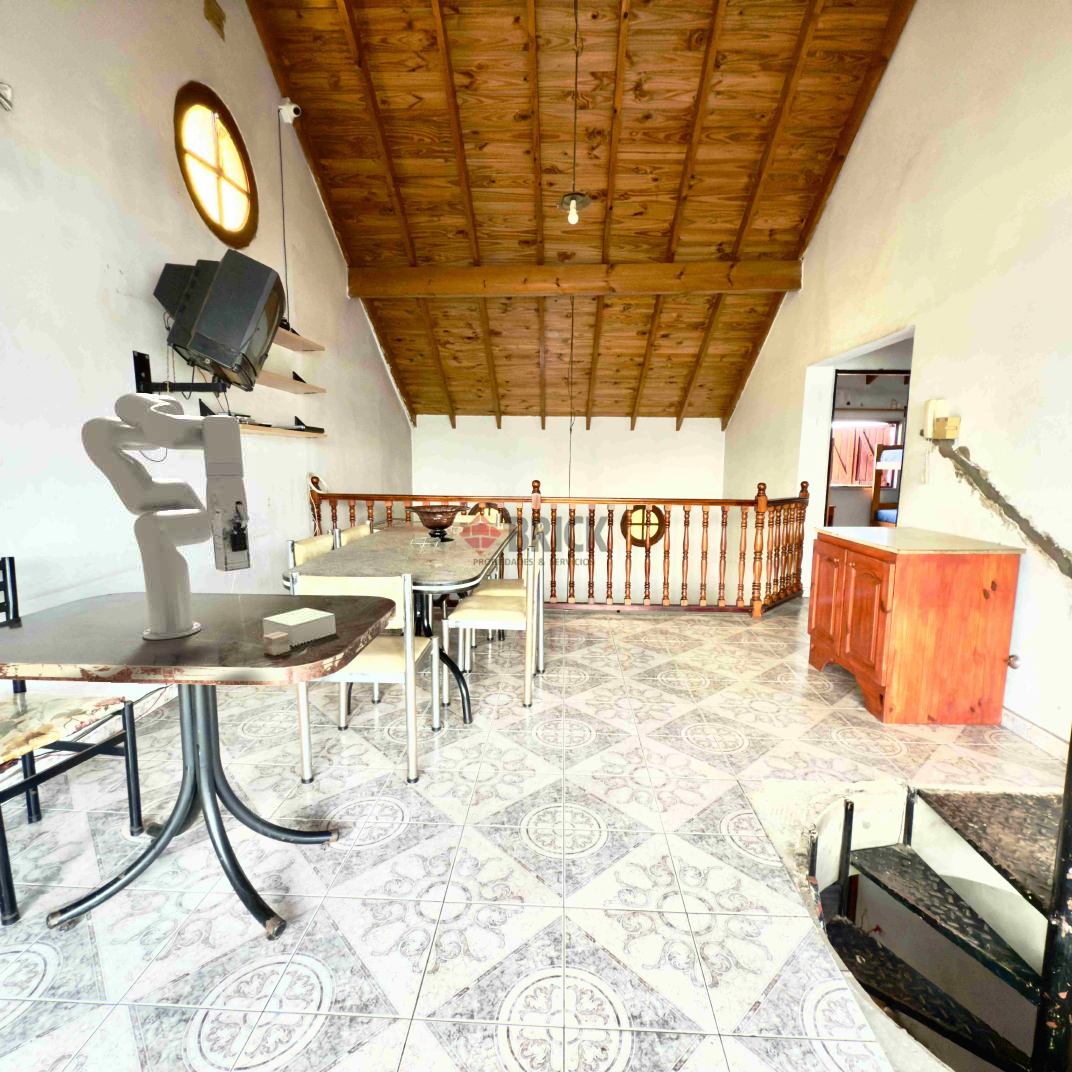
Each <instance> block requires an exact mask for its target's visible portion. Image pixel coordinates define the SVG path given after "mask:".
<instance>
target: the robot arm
mask: <svg viewBox="0 0 1072 1072" xmlns="http://www.w3.org/2000/svg"><path fill="white" fill-rule="evenodd" d="M184 410H185V409H184V408H183V405H182V404H181V402H180V401H178V400H177V399H176V398H174V397H172V396H169V395H159V394H153V393H152V394H150V393H141V392H140V393H139V392H135V393H134V392H131V393H126V394H123V395H121V396H120V397H119V398H118V399H116V400H115V403H114V412H115V415H116V417H115V416H101V417H94V418H91V419H88V420H87V421H86V422H85V423H83V425H82V428H81V433H80V434H81V436H80V437H81V441H82V446H83V448H84V451H85V453H86V455H87V456H88V457H89V459H90V461H91V462H92V463H93V464H94V466H95V467H97V469H98V470H100V472H101V473H102V474H104V476H105V477H106V478H107V480H108V482H109V483H110V484H111V486H112V488H113V490H114V491H115V493H116V495H117V496H118V497H119V500H121V503H122V504H123V505H124V507H125V509H126V510H127V511H128V512H129V513H131V515H134V516H138V517H137V518H136V519H135V520H134V521H135V522H134V525H133V532H134V536H135V540H136V542H137V546H138V549H139V553H140V556H141V557H140V558H141V562H142V570H143V576H144V577H143V578H144V586H145V595H146V604H147V613H148V622H149V628H147V629H145V630H144V631H143V632H142V635H143V638H144V639H147V640H153V641H155V640H157V641H159V640H170V639H177V638H180V637H186V636H189V635H192V634H195V633H196V632H199V631H200V630H201V629H202V625H201V623H200V622H197V621H194V613H193V605H192V604H193V603H192V595H191V593H192V592H191V583H190V582H191V581H190V574H189V573H190V571H189V565H188V562H187V560H186V558H185V557H184V556H183V555H182V554H181V553H180V551H178V549H177V548H179V547H184V546H191V545H199V544H202V543H205V542H208V541H209V540H210V539H212V538H213V533H212V522H211V521H213V520H215V512H216V510H215V509H216V508H219V509H221V514H222V521H223V522H229V524H230V528H231V531H232V534H230V537H231V548H232V552H238V551H245V550H247V544H246V527H248V523H249V521H250V517H249V515H248V512H249V511H248V502H247V494H246V489H245V484H244V479H243V478H245V475H244V466H243V465H244V463H243V453H242V452H243V451H242V442H241V440H242V439H241V431H240V430H241V429H240V428H241V427H240V422H239V420H238V418H237V417H234V416H230V415H207V416H191V415H185V411H184ZM160 448H164V449H168V450H175V451H176V450H181V451H182V450H186V451H188V450H191V451H192V450H195V451H196V450H197V451H203V459H204V468H205V469H204V470H205V478H206V484H205V486H206V487H205V500H206V501H205V504H206V506H205V505H204V504H203V502H202V501H201V499H200V498H199V496H198V495H197V493H196V492H195V490H194V488H192V486H191V485H190V484H189V483H188V482H187V481H185V480H183V479H180V478H175V477H172V478H171V477H168V478H157V477H153V476H152V475H151V474H150V473H149V471H148V470H147V469H146V467H145V465H143V464H142V463H141V461H139V460H138V459H136V458H135V457H133V456H132V455H130V454H128V453H126V452H124V451H155V450H158V449H160ZM236 517H239V518H240V519H238V520H233V518H236ZM236 523H237V525H236V527H235V524H236Z"/></svg>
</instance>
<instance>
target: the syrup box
mask: <svg viewBox="0 0 1072 1072" xmlns="http://www.w3.org/2000/svg"><path fill="white" fill-rule="evenodd" d="M215 510H216V512H215V520H213V521H211V522H212V533H213V535H212V542H213V552H214V553H213V554H214V555H213V556H214V567H215V570H219V571H221V572H231V571H239V570H245V569H251V557H250V542H249V530H248V529H249V528H248V526H247V527H246V544H247V550H245V551H238V552H232V548H231V537H230V534H232V531H231V528H230V524H229V522H223V521H222V514H221V509H219V508H216V509H215ZM238 519H240V518H239V517H236V518H233V520H238ZM236 525H237V523H236V524H235V527H236Z"/></svg>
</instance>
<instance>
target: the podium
mask: <svg viewBox="0 0 1072 1072" xmlns="http://www.w3.org/2000/svg"><path fill="white" fill-rule="evenodd" d="M335 615H336V614H335V613H331V612H326V611H322V610H320V609H319V610H318V609H313V608H309V607H303V608H299V609H296V610H295V609H294V610H290V611H287V612H284V613H279V614H276V615H271V616H268V617H263V618H262V624H263V625H262V626H263V627H262V628H263V636H264V635H268V634H271V633H275V632H283V633H287V634H289V640H290V645H291V646H290V647H296V646H299V645H301V643H302V644H305V643H307V642H308V641H309V642H312V641H315V640H317V639H321V638H324V637H328V636H330V635H334V634H336V633H337V632H336V631H337V630H336V629H337V627H336V616H335ZM314 639H315V640H314ZM311 640H312V641H311ZM304 642H305V643H304ZM309 642H308V643H309ZM298 644H299V645H298ZM295 645H296V646H295Z"/></svg>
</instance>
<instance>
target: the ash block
mask: <svg viewBox="0 0 1072 1072" xmlns="http://www.w3.org/2000/svg"><path fill="white" fill-rule="evenodd" d="M262 642H263V652H264V653H265V654H268V655H272V656H278V655H280V654H284V653H286V652H289V651H291V646H290V640H289V634H287V633H283V632H275V633H271V634H268V635H264V634H263V635H262Z"/></svg>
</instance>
